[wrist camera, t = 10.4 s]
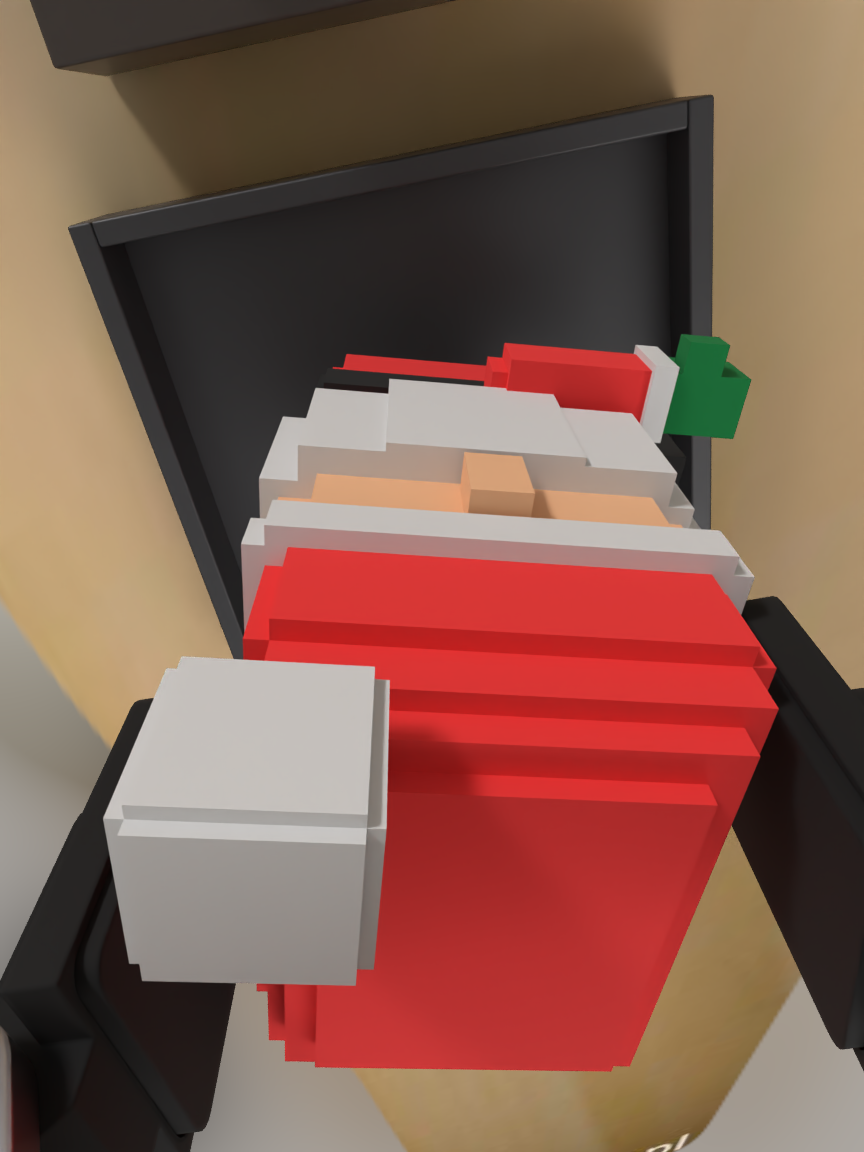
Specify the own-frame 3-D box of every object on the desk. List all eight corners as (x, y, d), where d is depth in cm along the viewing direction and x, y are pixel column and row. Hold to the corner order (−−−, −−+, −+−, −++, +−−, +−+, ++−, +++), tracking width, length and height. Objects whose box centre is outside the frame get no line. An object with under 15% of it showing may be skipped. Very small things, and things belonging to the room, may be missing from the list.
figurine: (595, 657, 19) (822, 1298, 9) (305, 641, 18) (185, 1305, 8) (685, 297, 15) (1346, 735, 4) (310, 263, 14) (65, 672, 4)
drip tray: (677, 97, 17) (714, 93, 15) (684, 596, 23) (710, 640, 21) (104, 215, 18) (66, 226, 16) (266, 665, 24) (254, 713, 22)
